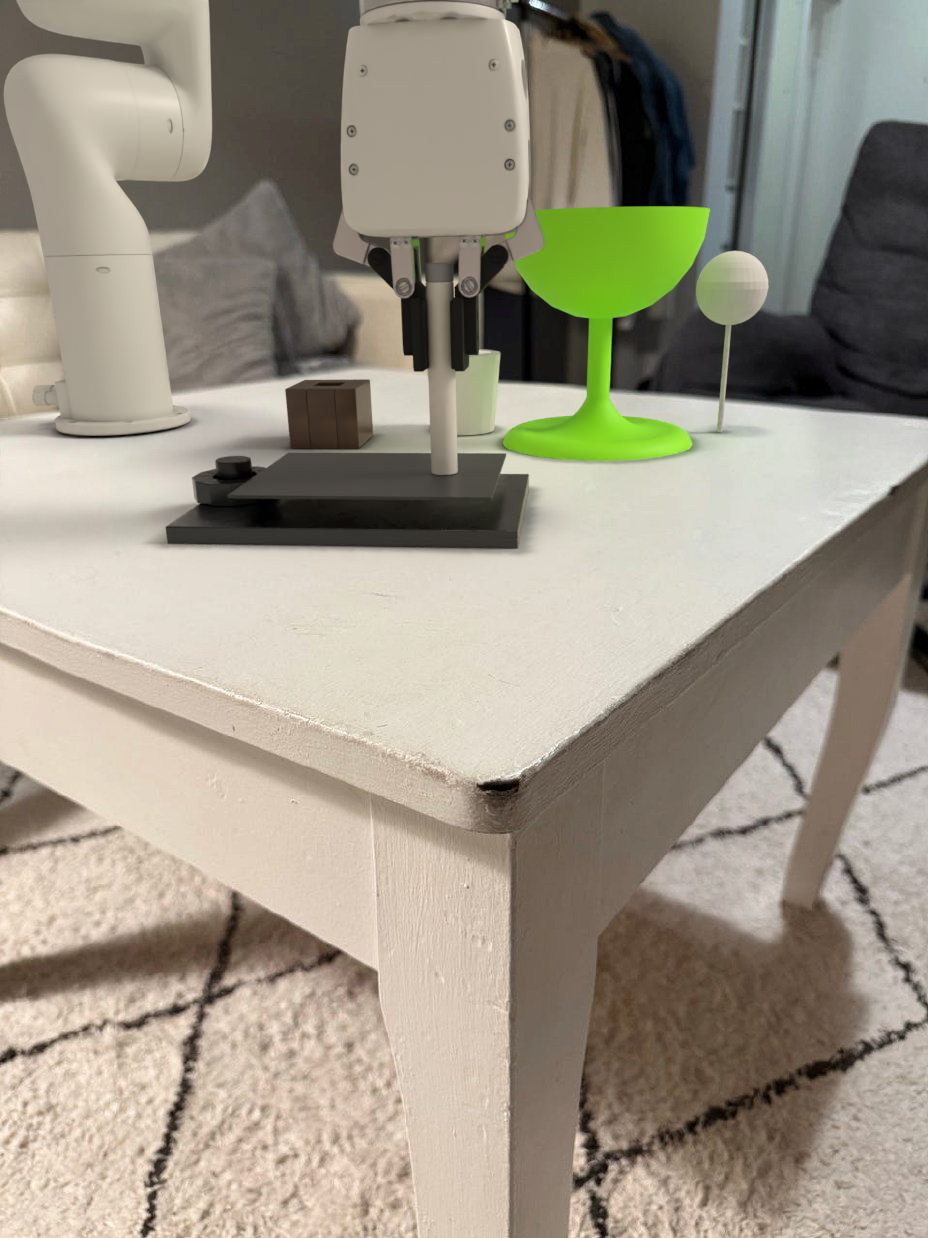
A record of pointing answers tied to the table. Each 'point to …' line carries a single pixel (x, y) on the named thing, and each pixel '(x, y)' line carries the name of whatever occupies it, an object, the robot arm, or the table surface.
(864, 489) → the table surface
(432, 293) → the stylus
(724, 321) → the lollipop
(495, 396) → the shot glass
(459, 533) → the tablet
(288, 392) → the pen stand
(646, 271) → the wineglass
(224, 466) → the button
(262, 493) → the screen
